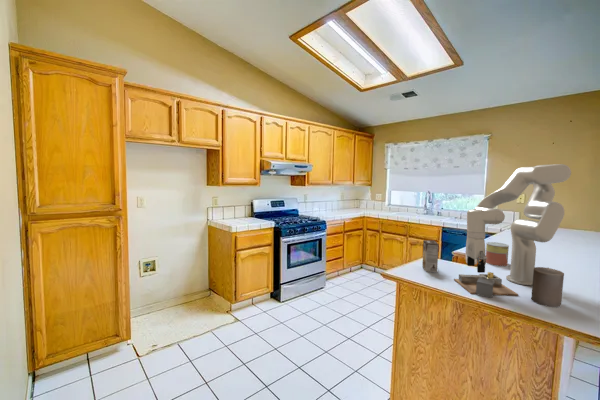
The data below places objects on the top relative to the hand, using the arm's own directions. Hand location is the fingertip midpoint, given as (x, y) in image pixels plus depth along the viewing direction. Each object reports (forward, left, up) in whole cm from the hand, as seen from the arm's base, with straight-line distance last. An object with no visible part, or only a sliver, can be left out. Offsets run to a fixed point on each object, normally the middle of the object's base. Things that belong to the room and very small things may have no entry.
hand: (475, 268), depth 139 cm
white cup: (-15, -36, -8) cm, 40 cm away
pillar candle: (-19, +19, -8) cm, 28 cm away
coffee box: (+15, -20, -8) cm, 26 cm away
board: (-2, +5, -8) cm, 9 cm away
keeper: (+1, +12, -8) cm, 14 cm away
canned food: (-30, -37, -8) cm, 49 cm away
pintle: (-7, 0, -8) cm, 10 cm away
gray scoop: (-1, 0, -7) cm, 7 cm away
